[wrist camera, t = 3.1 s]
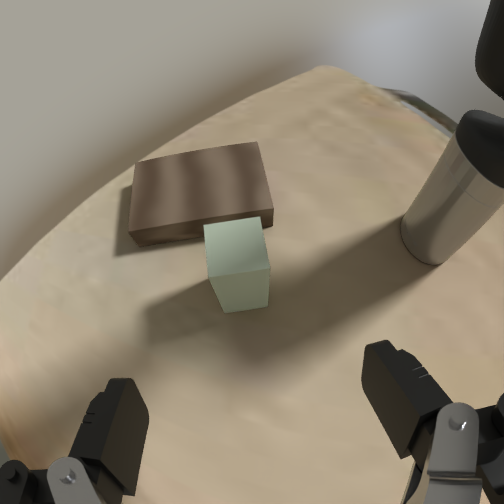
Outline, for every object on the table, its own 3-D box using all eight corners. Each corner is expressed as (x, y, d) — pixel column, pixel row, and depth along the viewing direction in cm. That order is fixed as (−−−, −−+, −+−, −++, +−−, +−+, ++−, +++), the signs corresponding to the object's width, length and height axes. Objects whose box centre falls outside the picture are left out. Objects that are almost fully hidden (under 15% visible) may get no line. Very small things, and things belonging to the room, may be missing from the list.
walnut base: (257, 160, 44) (257, 141, 40) (272, 225, 38) (273, 208, 35) (143, 179, 43) (135, 162, 39) (139, 246, 37) (128, 231, 34)
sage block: (260, 267, 36) (259, 216, 26) (267, 306, 33) (270, 268, 24) (219, 273, 35) (203, 225, 26) (224, 313, 33) (208, 277, 23)
